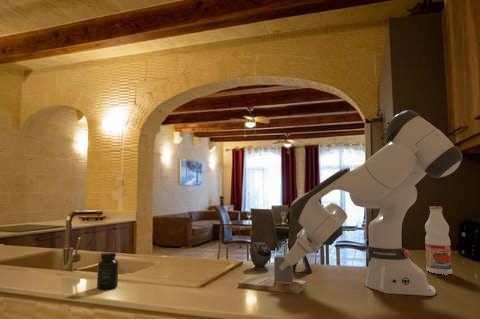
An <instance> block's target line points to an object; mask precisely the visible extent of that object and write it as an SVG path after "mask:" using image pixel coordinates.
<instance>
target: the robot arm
mask: <svg viewBox="0 0 480 319" xmlns="http://www.w3.org/2000/svg"><path fill="white" fill-rule="evenodd" d="M385 137H386V138H385V139H384V140H385V144H386V145H384V146H383V147H381V148H380V149H378V150H377V151H376V152H375V153H373V154H372V155H371V156H370V157H369V158H368V159H367V160H366V161H364V163H363V164H362V165H359V166H357V167H354V168H353V167H352V168H351V167H347V166H345V167H344V168H341V169H340V170H338V171H336V172H335V173H333V174H332V175H330V176H329V177H327V178H326V179H323V181H322V182H320V183H318V184H317V185H316V186H314V187H313V188H312V189H311V190H309V191H308V192H306V193H303V194H301V195H299V196H298V197H296V198H295V199H294V200H293V201H292V203H291V205H290V206H289V213H290V216H291V219H293V220H294V221H295V222H297V223H298V224H299V225H300V226H301V227H302V228H301V230H300V231H299V232H298V233H296V237H297V238H296V240H295V243H294V244H293V246H291V248H290V249H289V251H288V252H287V254H285V255H286V256H285V258H284V260H285V261H284V262H283V263H282V264H281V265H280V266H279V268H280V269H281V270H284V269H285V268H286V267H287V266H289V265H290V266H293V265H294V264H296V263H297V264H298V262H299V261H301V260H303V257H304V256H306V257H307V255H309V254H315V253H316V252H317V251H318V250H320V249H321V247H323V246H332V245H333V244H334V242H336V241H337V240H338V239H339V238H340V237H341V236H342V235H344V233H343V224H344V223H345V222H346V221H347V219H348V214H347V213H346V211H345V210H344V209H343V208H342V207H341V206H339V205H338V204H337V203H335V202H331V203H329V204H327V205H326V206H325V207H324V206H323V204H321V202H320V201H319V200H320V199H322V198H323V197H325V196H326V195H328V194H329V193H331V192H333V191H343V192H346V193H348V194H349V198H350V201H351V202H352V203H353V204H354V206H356V207H360V208H363V209H364V208H365V209H379V212H378V214H377V216H376V218H374V219H372V220H371V221H370V222H369V224H368V230H367V231H368V246H367V249H366V251H367V260H368V268H367V276H366V281H365V286H366V287H367V288H370V289H372V290H375V291H379V292H381V293H382V294H383V293H384V294H390V295H391V294H392V295H412V296H424V297H425V296H430V297H431V296H435V295H436V293H437V291H436V289H435V287H434V286H433V285H431V284H430V283H429V281H428V277H427V275H426V273H425V271H424V270H423V269H422V268H420V267H419V266H418V265H417V264H415V263H414V262H413V261H412V260H410V259H409V257H410V256H411V252H410V250H407V249H406V248H404V247H402V227H403V222H404V218H405V216H406V213H407V212H408V210H409V209H410V208H411V206H413V205H414V204H415V202H416V201H417V198H418V190H417V187H416V185H417V184H418V183H419V182H420V181H421V180H422V179H424V177H425V176H426V175H429V176H430V177H431V178H435V179H436V178H437V179H440V178H442V177H447V176H448V175H451V174H453V173H454V172H455V171H456V170H457V169H459V166H460V165H461V162H462V161H463V155H464V154H463V153H462V151H461V150H460V148H459V147H458V146H457V145H454V144H453V143H452V141H451V139H449V138H448V137H447V136H446V135H445V134H444V132H442V131H441V130H440V129H439V128H437V127H436V126H434V125H433V124H432V123H431V122H429V121H427V120H426V119H424V117H421V114H419V113H417V112H416V111H415V110H411V109H409V110H403V111H401V112H399V113H398V114H395V115H394V116H393V118H391V120H390V121H389V122H388V123H387V126H386V129H385Z"/></svg>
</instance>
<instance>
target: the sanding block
mask: <svg viewBox="0 0 480 319" xmlns="http://www.w3.org/2000/svg"><path fill="white" fill-rule="evenodd" d="M286 255H287V254H285V255H284V254H275V255H274V256H273V257H274V258H273V262H274V263H273V264H274V266H273V267H274V268H273V270H274V271H273V272H274V278H275V283H285V284H292V282H293V280H294V273H293V266H290V265H289V266H287V267H286V268H285V269H284V270H281V269H280V268H279V266H280V265H281V264H282V263H283V262H284V261H285V260H284V258H285V256H286Z"/></svg>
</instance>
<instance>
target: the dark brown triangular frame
mask: <svg viewBox="0 0 480 319" xmlns="http://www.w3.org/2000/svg"><path fill="white" fill-rule="evenodd" d="M302 261H303V264H304V267H305V268H297V265H298V262H297V263H296V264H294V265H293V274H301V273H302V274H312V273H313V271H312V268H311V264H310V263H309V259H308V257H307V255H306V256H304V257H303V258H302Z"/></svg>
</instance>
